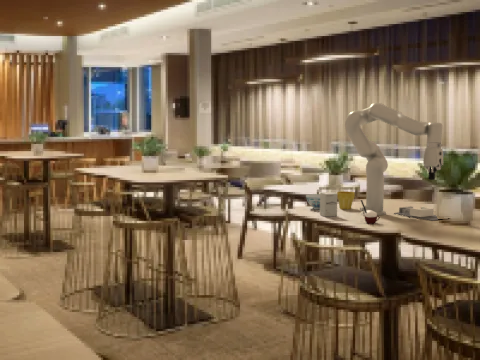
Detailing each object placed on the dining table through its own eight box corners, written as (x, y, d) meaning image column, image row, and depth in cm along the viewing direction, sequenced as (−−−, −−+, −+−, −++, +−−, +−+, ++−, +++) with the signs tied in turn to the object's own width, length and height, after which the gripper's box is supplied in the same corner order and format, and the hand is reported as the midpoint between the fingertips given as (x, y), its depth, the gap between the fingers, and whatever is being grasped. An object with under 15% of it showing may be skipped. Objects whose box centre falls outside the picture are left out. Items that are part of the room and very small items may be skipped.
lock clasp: (420, 217, 322) (421, 209, 322) (409, 215, 329) (410, 208, 328) (433, 215, 328) (433, 208, 327) (422, 213, 334) (422, 206, 334)
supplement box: (324, 217, 328) (325, 193, 327) (319, 214, 336) (319, 192, 334) (337, 216, 330) (337, 193, 329) (331, 214, 337) (332, 191, 336)
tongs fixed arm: (420, 216, 326) (420, 211, 326) (398, 212, 339) (398, 207, 339) (432, 215, 331) (432, 209, 331) (410, 211, 344) (410, 206, 344)
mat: (432, 220, 316) (432, 219, 316) (393, 214, 339) (393, 213, 339) (450, 218, 323) (450, 217, 323) (411, 212, 346) (411, 211, 346)
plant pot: (357, 209, 356) (358, 192, 355) (342, 210, 353) (342, 193, 352) (348, 206, 366) (348, 190, 365) (333, 207, 362) (333, 191, 361)
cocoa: (379, 222, 311) (379, 199, 309) (379, 224, 305) (380, 200, 303) (360, 221, 313) (360, 198, 312) (360, 223, 307) (360, 200, 305)
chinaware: (336, 208, 359) (336, 195, 358) (321, 211, 348) (322, 198, 347) (315, 206, 369) (315, 193, 368) (300, 208, 358) (301, 195, 357)
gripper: (449, 146, 318) (447, 181, 320) (428, 144, 331) (425, 177, 333) (439, 146, 314) (437, 181, 317) (418, 144, 327) (416, 178, 329)
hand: (431, 179), depth 325 cm, fingers closed
